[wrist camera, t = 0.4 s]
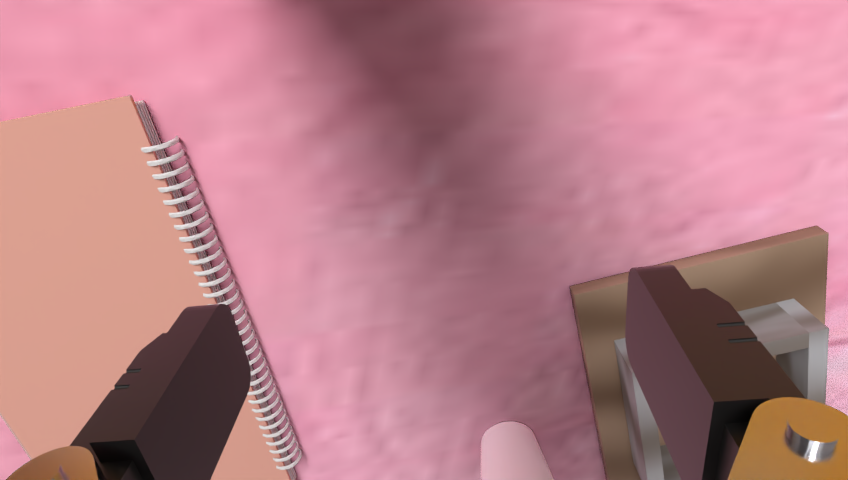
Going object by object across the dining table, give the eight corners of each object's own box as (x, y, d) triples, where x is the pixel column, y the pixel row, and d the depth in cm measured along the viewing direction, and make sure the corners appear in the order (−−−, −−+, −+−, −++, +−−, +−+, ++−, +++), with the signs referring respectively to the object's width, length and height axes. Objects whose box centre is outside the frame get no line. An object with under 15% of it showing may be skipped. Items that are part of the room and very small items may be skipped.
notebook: (314, 470, 39) (309, 494, 38) (89, 505, 41) (74, 530, 39) (165, 84, 28) (148, 92, 26) (-145, 148, 29) (-182, 160, 27)
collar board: (569, 286, 33) (589, 325, 29) (816, 225, 31) (869, 258, 28) (609, 493, 40) (628, 544, 37) (809, 451, 39) (849, 501, 35)
